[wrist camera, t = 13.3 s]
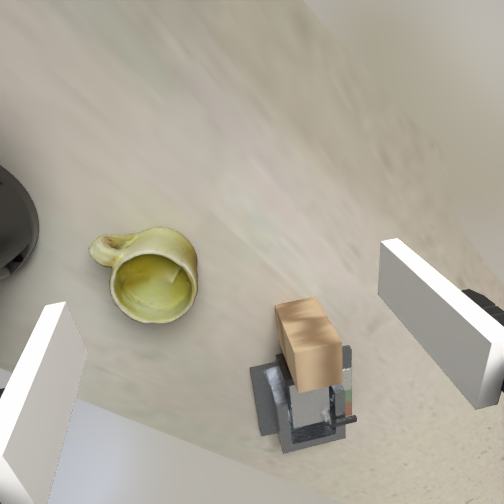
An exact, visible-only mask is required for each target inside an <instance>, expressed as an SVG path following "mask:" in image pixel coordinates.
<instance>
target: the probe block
mask: <svg viewBox="0 0 504 504" xmlns="http://www.w3.org/2000/svg"><path fill="white" fill-rule="evenodd" d="M275 310H276V319H277V327H278V336H279V343H280V346H281V349H282V351H283V354H284V357H285V359H286V362H287V365H288V368H289V370H290V373H291V376H292V378H293V381H294V384H295V387H296V389H297V392H298V394H299V393H303V392H307V391H312V390H316V389H320V388H324V387H328V386H333V385H337V384H341V383H343V371H342V341H341V339H340V338H339V336H338V334H337V333H336V331H335V329H334V327H333V326H332V324H331V322H330V321H329V319H328V317H327V316H326V314H325V312H324V310H323V309H322V307H321V305H320V304H319V302H318V300H317V298H316V297H311V298H306V299H302V300H297V301H292V302H288V303H283V304H278V305H275Z"/></svg>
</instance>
